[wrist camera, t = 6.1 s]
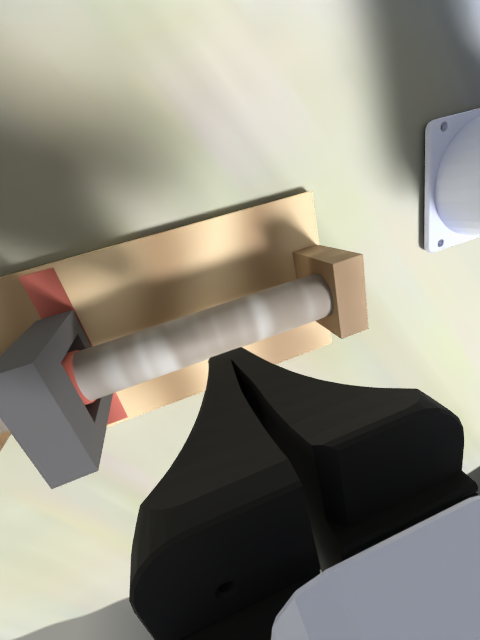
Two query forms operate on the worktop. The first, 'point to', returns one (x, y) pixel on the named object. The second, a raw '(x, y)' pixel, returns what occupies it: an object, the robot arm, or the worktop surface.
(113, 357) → the pipe rig
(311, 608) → the robot arm
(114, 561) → the worktop surface
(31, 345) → the collar
